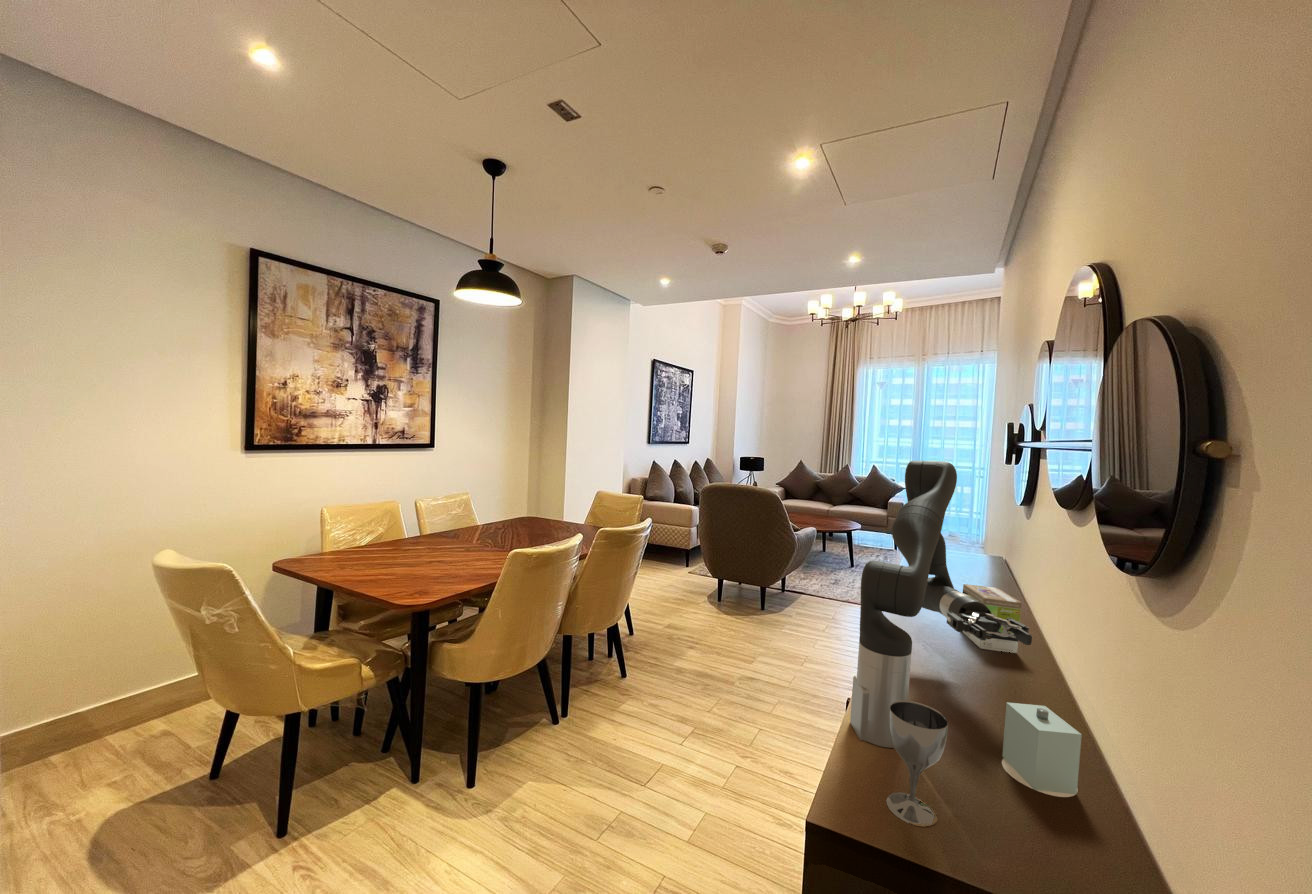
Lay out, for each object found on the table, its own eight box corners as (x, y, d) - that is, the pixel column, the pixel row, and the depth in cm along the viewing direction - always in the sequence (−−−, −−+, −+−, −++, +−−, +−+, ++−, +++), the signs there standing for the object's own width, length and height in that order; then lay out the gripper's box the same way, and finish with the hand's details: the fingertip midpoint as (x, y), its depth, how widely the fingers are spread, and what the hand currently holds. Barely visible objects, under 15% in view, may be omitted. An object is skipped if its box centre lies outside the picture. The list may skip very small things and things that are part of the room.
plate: (1025, 797, 82) (1026, 792, 82) (988, 756, 92) (989, 752, 92) (1093, 805, 81) (1094, 800, 81) (1049, 763, 91) (1049, 758, 91)
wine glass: (922, 791, 82) (928, 701, 81) (952, 830, 74) (960, 730, 73) (874, 790, 81) (880, 699, 81) (899, 828, 73) (906, 728, 73)
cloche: (1034, 789, 82) (1039, 723, 82) (1002, 756, 91) (1007, 695, 91) (1076, 794, 82) (1082, 727, 82) (1040, 760, 90) (1045, 699, 90)
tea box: (1019, 654, 140) (1023, 602, 139) (979, 649, 142) (983, 597, 141) (994, 633, 154) (997, 586, 154) (958, 629, 156) (961, 582, 156)
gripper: (933, 592, 117) (971, 615, 101) (997, 598, 116) (1046, 623, 100) (931, 624, 117) (968, 652, 101) (995, 630, 116) (1043, 660, 100)
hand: (1006, 638), depth 100 cm, fingers open, 8 cm apart
